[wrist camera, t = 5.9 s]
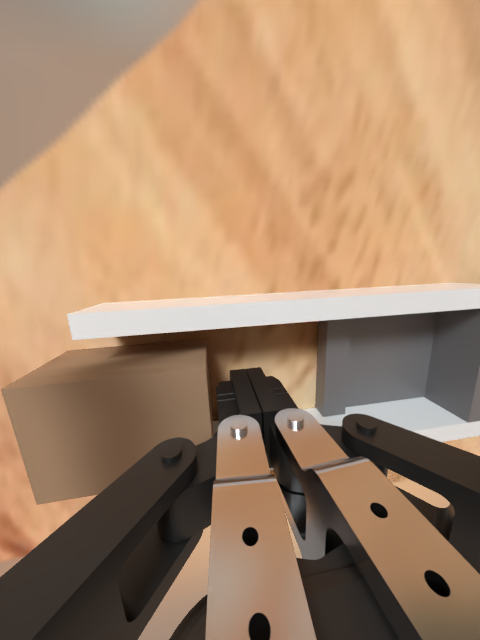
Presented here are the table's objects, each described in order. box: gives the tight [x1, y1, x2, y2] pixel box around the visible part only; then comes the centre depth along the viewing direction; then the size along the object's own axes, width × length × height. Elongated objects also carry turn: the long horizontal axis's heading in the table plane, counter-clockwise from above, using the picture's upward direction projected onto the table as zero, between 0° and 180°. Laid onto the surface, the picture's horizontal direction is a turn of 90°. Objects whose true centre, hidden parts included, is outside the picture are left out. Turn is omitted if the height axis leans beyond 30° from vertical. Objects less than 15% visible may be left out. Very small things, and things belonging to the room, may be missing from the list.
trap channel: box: [67, 283, 480, 471], centre depth 12 cm, size 20×8×3 cm, turn 93°
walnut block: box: [1, 339, 213, 505], centre depth 11 cm, size 7×5×4 cm
